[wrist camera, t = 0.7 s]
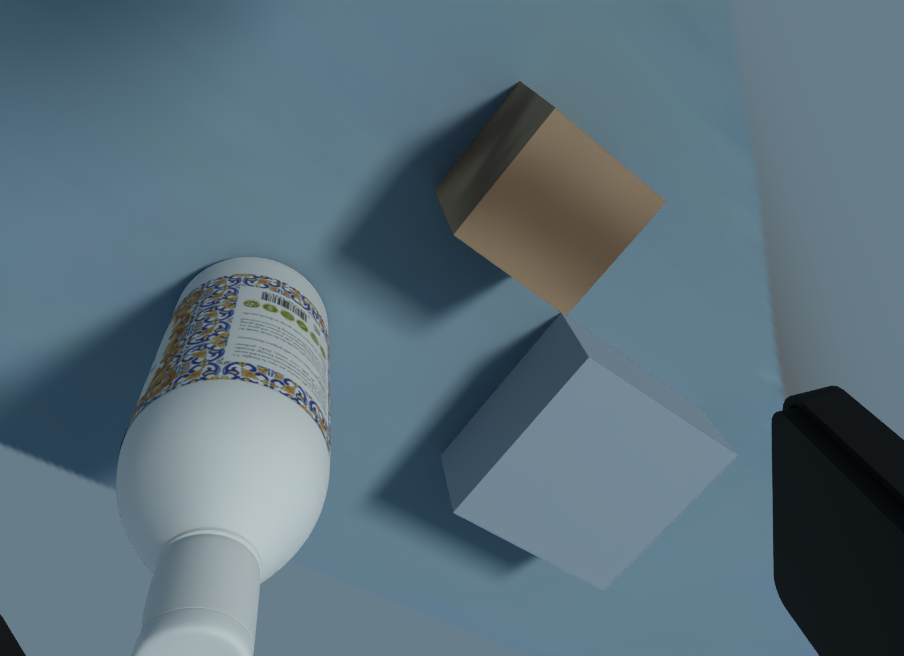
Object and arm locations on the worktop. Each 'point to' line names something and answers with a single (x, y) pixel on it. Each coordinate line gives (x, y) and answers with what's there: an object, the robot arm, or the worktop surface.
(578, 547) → the base block
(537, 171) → the walnut cube
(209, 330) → the bath foam
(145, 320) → the worktop surface
